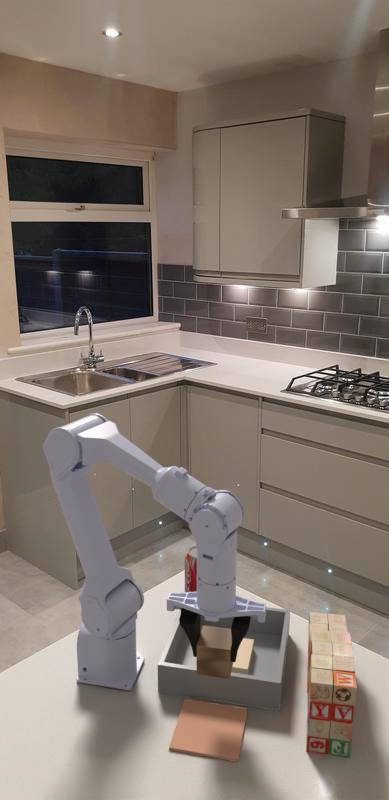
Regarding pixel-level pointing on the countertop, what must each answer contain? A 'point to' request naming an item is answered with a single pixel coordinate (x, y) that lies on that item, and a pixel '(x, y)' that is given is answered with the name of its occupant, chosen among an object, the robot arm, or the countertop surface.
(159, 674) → the grey crate
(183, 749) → the terracotta mat
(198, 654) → the walnut block
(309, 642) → the stack of blocks
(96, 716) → the countertop surface
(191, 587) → the beverage can
